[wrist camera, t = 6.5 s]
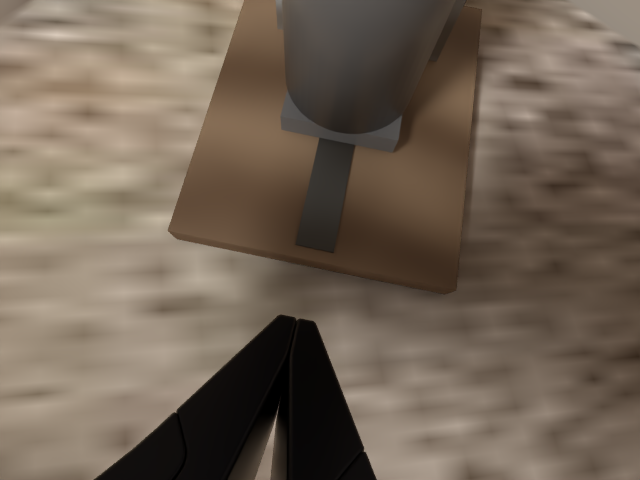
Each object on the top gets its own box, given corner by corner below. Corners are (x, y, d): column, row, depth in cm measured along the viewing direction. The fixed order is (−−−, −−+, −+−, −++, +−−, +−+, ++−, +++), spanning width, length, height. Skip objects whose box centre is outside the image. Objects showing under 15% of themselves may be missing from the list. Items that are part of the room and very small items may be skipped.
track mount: (445, 294, 16) (506, 271, 12) (176, 239, 16) (126, 193, 12) (471, 28, 21) (524, -69, 16) (259, -16, 21) (247, -126, 16)
